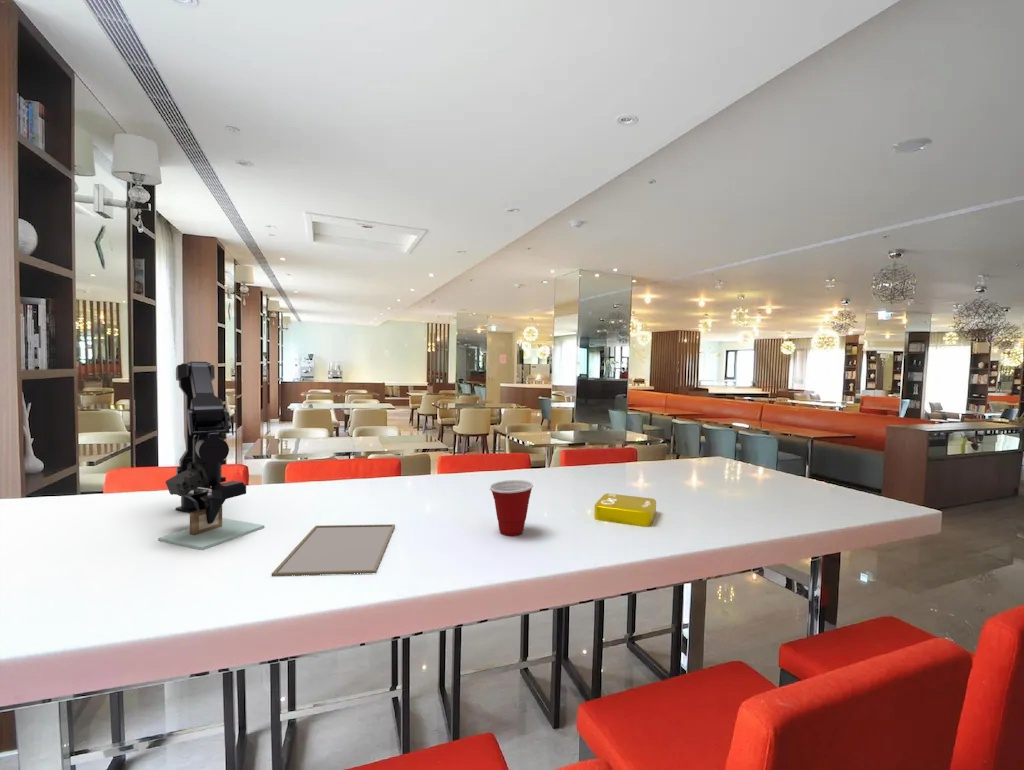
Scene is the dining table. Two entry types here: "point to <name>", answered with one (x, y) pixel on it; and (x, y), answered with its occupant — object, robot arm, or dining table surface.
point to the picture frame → (338, 550)
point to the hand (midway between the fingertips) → (207, 522)
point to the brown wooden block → (203, 522)
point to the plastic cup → (511, 505)
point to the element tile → (625, 510)
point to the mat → (212, 534)
